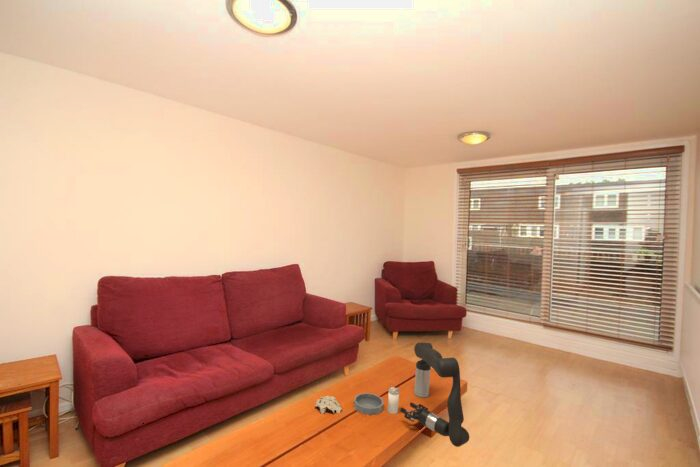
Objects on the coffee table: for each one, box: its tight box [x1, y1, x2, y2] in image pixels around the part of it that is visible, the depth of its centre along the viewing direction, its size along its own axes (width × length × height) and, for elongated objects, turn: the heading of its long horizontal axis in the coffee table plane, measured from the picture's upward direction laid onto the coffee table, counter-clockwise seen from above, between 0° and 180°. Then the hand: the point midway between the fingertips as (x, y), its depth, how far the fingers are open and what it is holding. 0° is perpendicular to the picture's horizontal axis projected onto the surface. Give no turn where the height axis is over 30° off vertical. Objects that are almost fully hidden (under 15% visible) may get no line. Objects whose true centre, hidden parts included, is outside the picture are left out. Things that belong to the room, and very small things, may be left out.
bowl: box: [353, 392, 384, 416], centre depth 194 cm, size 17×17×4 cm
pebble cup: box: [387, 386, 400, 415], centre depth 190 cm, size 6×6×14 cm
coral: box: [314, 395, 343, 415], centre depth 190 cm, size 15×12×5 cm
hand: (405, 406), depth 184 cm, fingers open, 8 cm apart
